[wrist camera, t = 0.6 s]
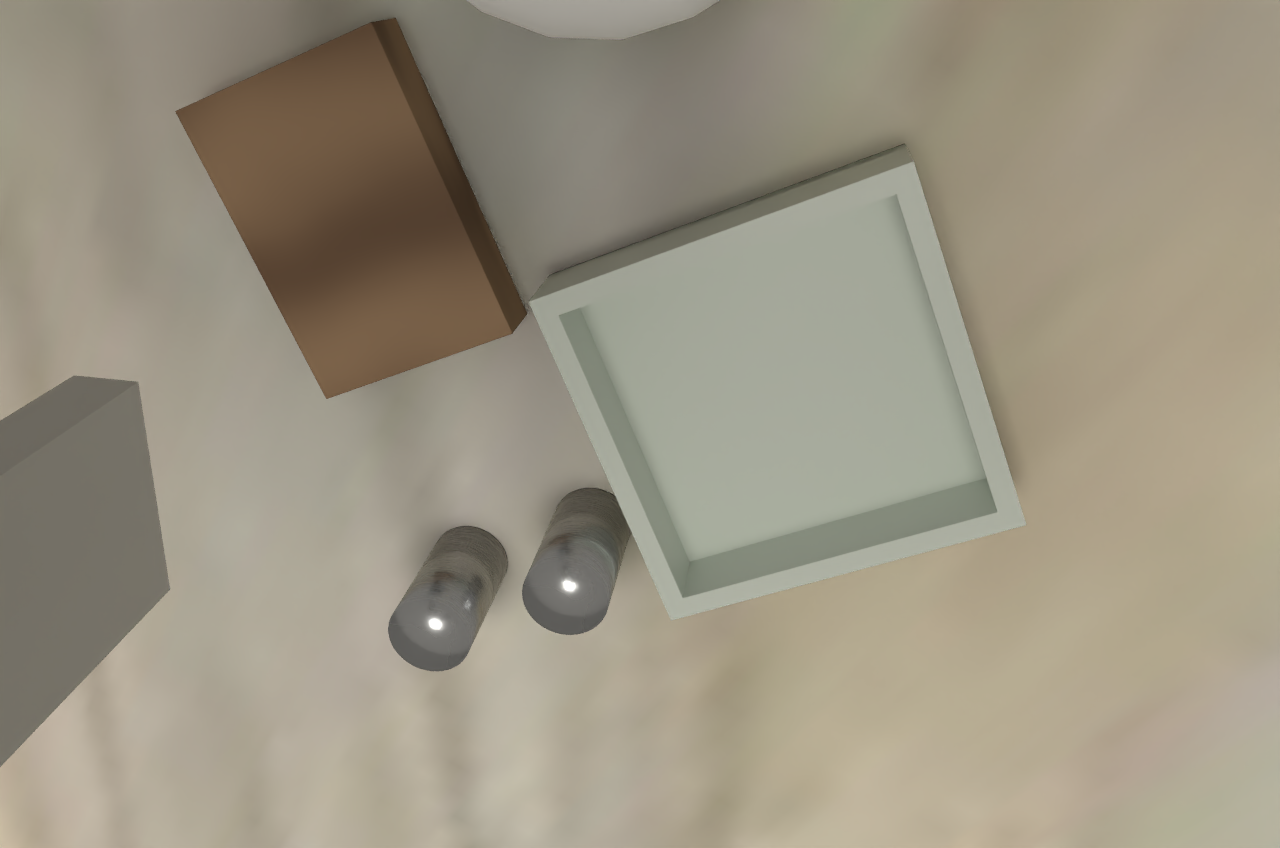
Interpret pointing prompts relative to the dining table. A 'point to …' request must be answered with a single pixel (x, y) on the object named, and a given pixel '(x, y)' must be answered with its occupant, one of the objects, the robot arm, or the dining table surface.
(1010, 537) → the dining table surface
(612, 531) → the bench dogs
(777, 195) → the tray
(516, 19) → the potion bottle
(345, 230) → the tan wooden board
